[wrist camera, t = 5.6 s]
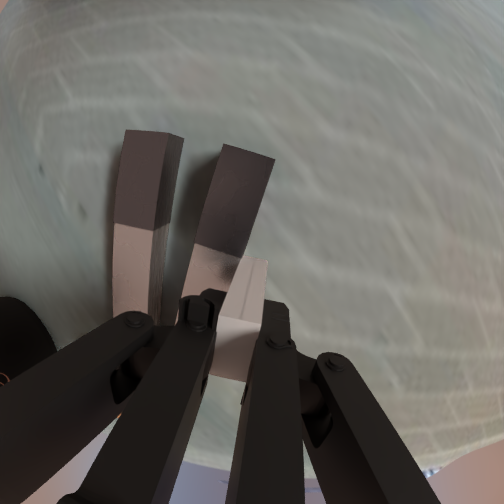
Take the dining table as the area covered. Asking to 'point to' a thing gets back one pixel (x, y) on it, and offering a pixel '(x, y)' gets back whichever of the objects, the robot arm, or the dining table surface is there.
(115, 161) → the dining table surface
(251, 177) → the tongs upper
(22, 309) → the coffee jar
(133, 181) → the tongs lower
